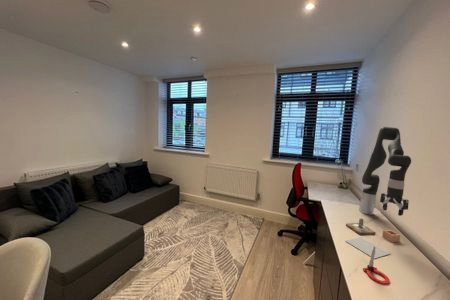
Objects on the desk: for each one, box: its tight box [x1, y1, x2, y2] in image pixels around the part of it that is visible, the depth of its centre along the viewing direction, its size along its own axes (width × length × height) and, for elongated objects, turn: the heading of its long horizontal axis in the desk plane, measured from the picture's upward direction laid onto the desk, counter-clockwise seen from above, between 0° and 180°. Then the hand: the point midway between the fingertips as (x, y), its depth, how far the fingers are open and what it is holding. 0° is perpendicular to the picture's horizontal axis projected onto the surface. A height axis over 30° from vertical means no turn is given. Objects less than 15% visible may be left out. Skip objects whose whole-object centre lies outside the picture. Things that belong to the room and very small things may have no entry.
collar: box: [381, 229, 401, 243], centre depth 124 cm, size 6×6×4 cm
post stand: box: [345, 218, 376, 236], centre depth 134 cm, size 12×12×8 cm
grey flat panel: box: [345, 237, 391, 259], centre depth 112 cm, size 23×25×1 cm
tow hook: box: [362, 247, 391, 286], centre depth 90 cm, size 8×13×9 cm
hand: (392, 212), depth 121 cm, fingers open, 8 cm apart
